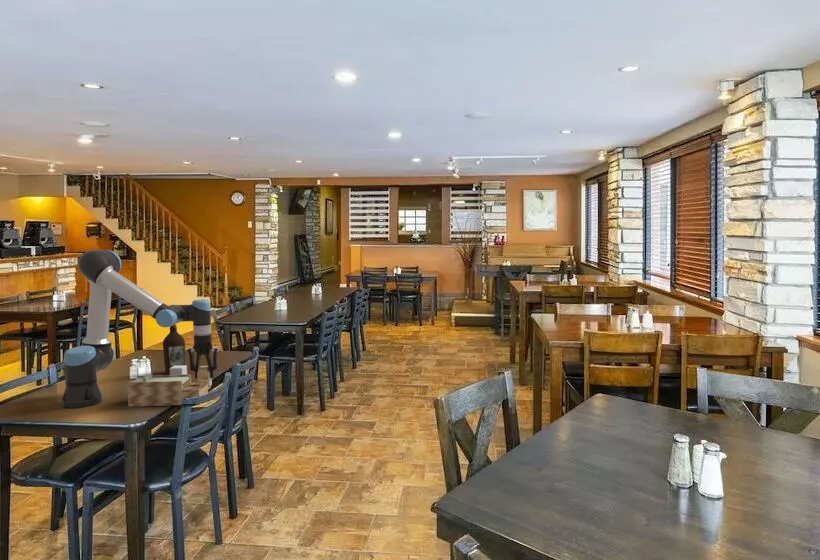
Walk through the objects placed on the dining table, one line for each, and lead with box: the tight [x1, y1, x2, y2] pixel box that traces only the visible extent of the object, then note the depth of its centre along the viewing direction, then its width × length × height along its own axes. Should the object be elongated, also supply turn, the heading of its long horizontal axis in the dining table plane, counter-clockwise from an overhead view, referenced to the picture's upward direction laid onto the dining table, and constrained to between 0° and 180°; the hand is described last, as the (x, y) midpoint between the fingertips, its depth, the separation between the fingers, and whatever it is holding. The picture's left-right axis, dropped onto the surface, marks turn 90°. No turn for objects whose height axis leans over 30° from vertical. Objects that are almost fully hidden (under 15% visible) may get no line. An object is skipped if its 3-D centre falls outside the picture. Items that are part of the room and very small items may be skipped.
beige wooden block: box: [198, 365, 212, 391], centre depth 264 cm, size 4×4×10 cm
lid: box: [132, 373, 189, 384], centre depth 248 cm, size 21×9×3 cm, turn 93°
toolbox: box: [126, 373, 209, 407], centre depth 249 cm, size 29×12×10 cm, turn 93°
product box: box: [170, 364, 188, 375], centre depth 282 cm, size 6×6×7 cm
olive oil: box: [162, 324, 186, 375], centre depth 299 cm, size 11×11×25 cm
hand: (204, 385), depth 264 cm, fingers closed on beige wooden block, 4 cm apart
